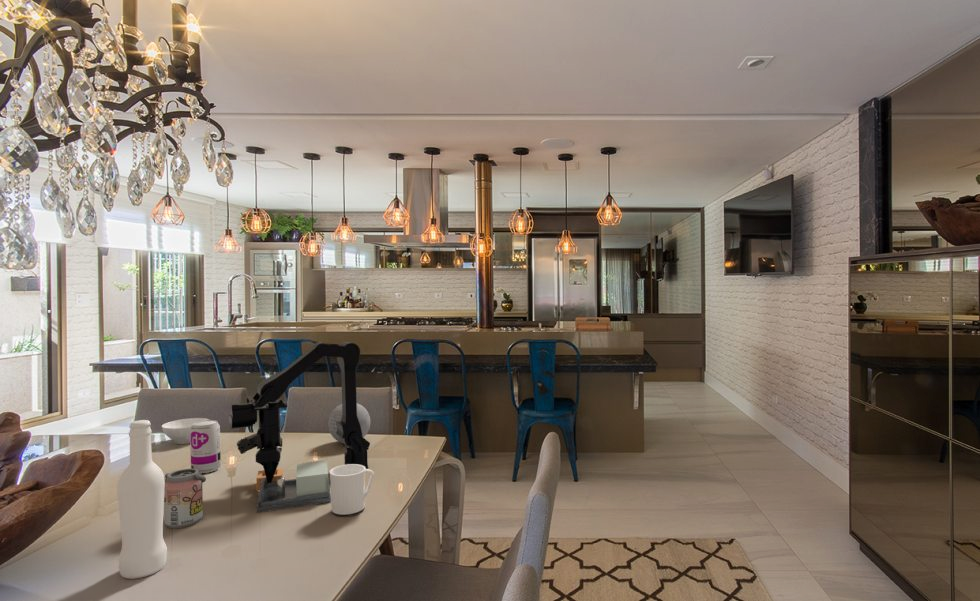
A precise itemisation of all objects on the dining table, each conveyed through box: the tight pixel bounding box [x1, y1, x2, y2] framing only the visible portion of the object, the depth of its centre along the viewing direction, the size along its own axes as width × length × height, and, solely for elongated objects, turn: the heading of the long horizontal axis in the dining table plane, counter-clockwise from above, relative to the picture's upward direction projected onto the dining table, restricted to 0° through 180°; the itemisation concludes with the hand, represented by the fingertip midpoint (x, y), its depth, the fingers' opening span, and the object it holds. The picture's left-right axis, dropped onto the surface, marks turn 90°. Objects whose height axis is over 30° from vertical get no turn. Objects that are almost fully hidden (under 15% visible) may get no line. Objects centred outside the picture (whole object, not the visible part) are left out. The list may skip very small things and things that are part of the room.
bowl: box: [161, 417, 210, 445], centre depth 198 cm, size 16×16×7 cm
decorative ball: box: [327, 403, 371, 444], centre depth 193 cm, size 15×15×15 cm
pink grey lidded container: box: [163, 468, 207, 529], centre depth 128 cm, size 9×8×12 cm
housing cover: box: [295, 459, 329, 496], centre depth 144 cm, size 8×12×6 cm, turn 19°
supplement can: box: [189, 419, 222, 475], centre depth 165 cm, size 8×8×15 cm
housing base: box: [256, 477, 332, 513], centre depth 143 cm, size 18×16×5 cm
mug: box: [328, 464, 375, 518], centre depth 133 cm, size 11×9×10 cm
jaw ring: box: [256, 467, 284, 492], centre depth 151 cm, size 7×7×4 cm
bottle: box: [116, 419, 168, 580], centre depth 105 cm, size 8×8×30 cm
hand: (270, 478), depth 151 cm, fingers open, 7 cm apart
